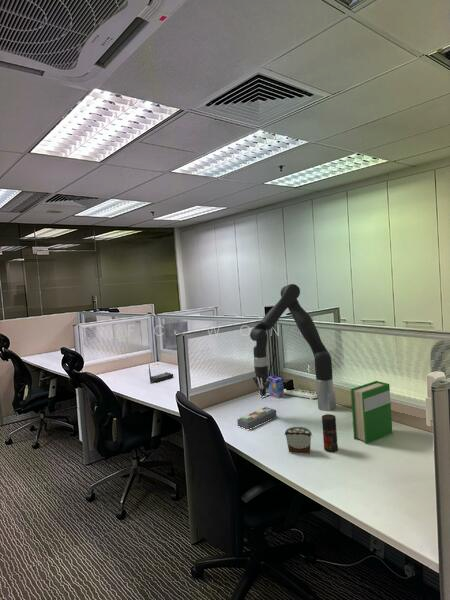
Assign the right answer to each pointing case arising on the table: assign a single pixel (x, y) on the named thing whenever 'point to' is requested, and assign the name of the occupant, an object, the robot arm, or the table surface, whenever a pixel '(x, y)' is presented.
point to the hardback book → (371, 411)
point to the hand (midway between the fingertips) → (263, 394)
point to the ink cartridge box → (276, 387)
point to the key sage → (247, 418)
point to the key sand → (260, 412)
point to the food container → (298, 440)
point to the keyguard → (257, 419)
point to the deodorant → (329, 433)
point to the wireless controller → (160, 377)
